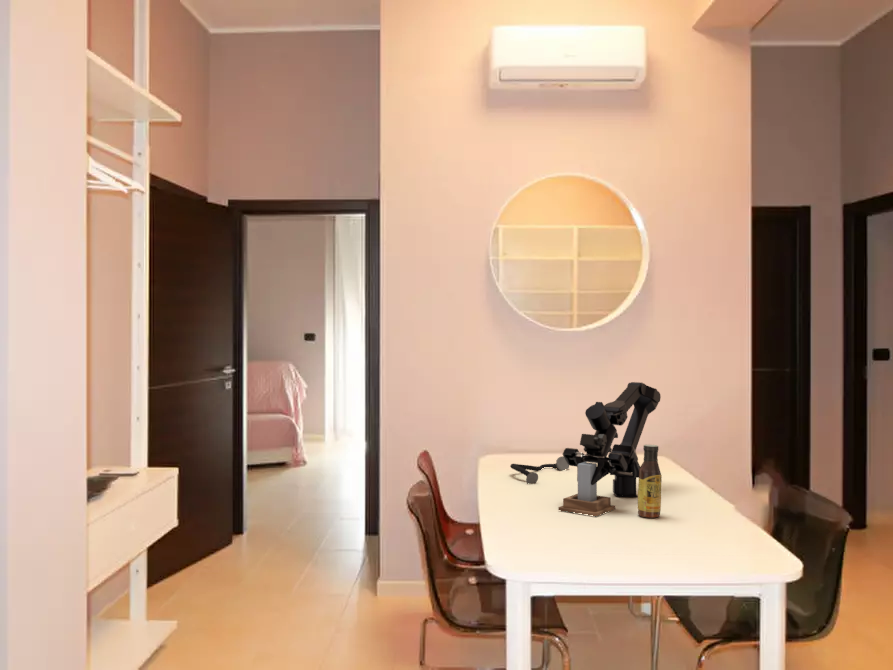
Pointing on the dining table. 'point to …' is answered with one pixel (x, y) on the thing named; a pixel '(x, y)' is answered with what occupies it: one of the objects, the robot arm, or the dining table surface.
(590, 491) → the grey square post
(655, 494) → the sauce bottle
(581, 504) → the post socket
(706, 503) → the dining table surface
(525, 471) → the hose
